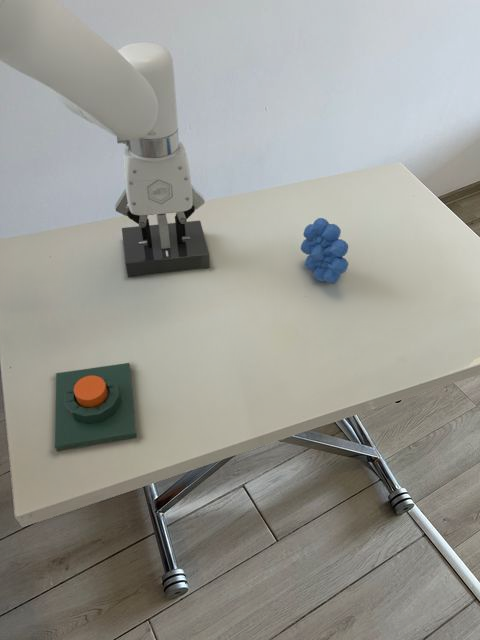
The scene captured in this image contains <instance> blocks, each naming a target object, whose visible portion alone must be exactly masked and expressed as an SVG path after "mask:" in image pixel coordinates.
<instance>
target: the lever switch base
mask: <svg viewBox="0 0 480 640" xmlns="http://www.w3.org/2000/svg"><path fill="white" fill-rule="evenodd" d="M167 223H168V229H169V239H170V248H166V249H162V248H161V242H160V237H159V230H158V224H149V226H150V233H151V240H152V246H151V247H148V242H147V240H143V237H142V231H141V227H139V225H137V226H129V227H128V226H127V227H121V236H122V244H123V245H122V247H123V254H124V263H125V270H126V276H127V277H128V278H133V277H141V276H142V277H144V276H152V275H158V274H159V275H160V274H168V273H177V272H185V271H194V270H203V269H210V268H211V264H210V263H211V261H210V252H209V248H208V244H207V241H206V237H205V236H206V235H205V233H204V230H203V229H204V228H203V225H202V221H201V220H200V219H199V220H190V221H187V222H186V223H185V233H186V236H182V242H183V243H182V244H180V243H178V239H177V234H176V224H175V222H170V223H169V222H167Z"/></svg>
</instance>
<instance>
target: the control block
mask: <svg viewBox="0 0 480 640" xmlns="http://www.w3.org/2000/svg"><path fill="white" fill-rule="evenodd" d="M131 371H132V370H131V365H130V362H126V363H124V362H123V363H118V364H110V365H103V366H98V367H89V368H83V369H77V370H69V371H63V372H56V374H55V409H54V410H55V411H54V412H55V413H54V414H55V415H54V419H55V420H54V448H55V450H56V452H59V451H65V450H71V449H78V448H84V447H89V446H94V445H101V444H106V443H112V442H118V441H124V440H128V439H129V440H130V439H131V440H132V439H136V438H137V437H138V435H137V424H136V414H135V413H136V412H135V404H134V403H135V402H134V391H133V381H132V372H131ZM86 376H98V377H100V378H102V379H103V380H104V381H105V384H106V388H107V391H108V395H107V398H106V400H105V401H104V402H103V403H102V404H100V405H99V406H96V407H91V408H88V407H84V406H81V405H80V404H79V403H78V401H77V399H76V396H75V394H74V386H75V384H76V383H77V382H78V381H79V380H80V379H82V378H83V377H86Z"/></svg>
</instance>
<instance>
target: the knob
mask: <svg viewBox="0 0 480 640" xmlns="http://www.w3.org/2000/svg"><path fill="white" fill-rule="evenodd" d="M156 221H157V225H158V230H159V237H160V242H161V248H162V249H166V248H170V239H169V229H168V223H169V222H168V218H167V213H166V214H156Z"/></svg>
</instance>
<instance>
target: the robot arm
mask: <svg viewBox="0 0 480 640" xmlns="http://www.w3.org/2000/svg"><path fill="white" fill-rule="evenodd" d="M0 61H1V62H2V63H3V64H5V65H7V66H8V67H10V68H12V69H14V70H16V71H18V72H19V73H21V74H23V75H25V76H27V77H29V78H31V79H33V80H36V81H37V82H39V83H41V84H43V85H44V86H45V87H48V88H49V89H51V90H53V91H54V92H55V93H56V95H57V97H58V99H59V101H60V102H61V103H62V104H63V106H64V107H65V108H66V109H68V110H69V111H70V112H71V113H73V114H75V115H76V116H78V117H81V118H82V119H84V120H86V121H88V122H89V123H91V124H93V125H96V126H97V127H99V128H100V129H103V130H104V131H106V132H107V133H109V134H111V135H113V136H115V137H116V142H117V144H123V145H125V146H124V150H123V151H124V152H123V176H124V186H125V187H124V190H123V191H122V193H121V195H120V196H119V198H118V200H117V201H116V203H115V204H114V207H115V212H117V213H119V214H120V215H123V216H126V217H128V219H130V220H131V221H132V222H134V223H136V224H137V225H138V226H139V227H141V231H142V237H143V240H147V242H148V247H151V246H152V240H151V233H150V226H149V225H150V221H149V220H150V219H149V218H148V216H150V215H151V216H153V215H157V214H166V215H167V214H173V213H174V214H175V215H174V223H175V224H176V234H177V239H178V243H180V244H182V243H183V242H182V236H186V233H185V223H186V222H188V219H189V218H190V217H191V216H192V215H193V214H194V212H195V211H197V210H198V209H199V208H201V207H202V206H203V205H204V204H205V197H204V195H202V194H201V193H200V192H199V190H198V189H197V188H196V187H195V186H194V185H193V184H192V180H191V172H190V171H191V170H190V164H189V160H188V155H187V151H186V149H185V147H184V144H183V143H182V142H181V141H180V135H179V133H180V132H179V123H178V107H177V94H176V80H175V79H176V78H175V67H174V60H173V56H172V54H171V52H170V51H169V49H167V48H166V47H165V46H163V45H161V44H158V43H154V42H146V41H145V42H144V41H142V42H132V43H129V44H126V45H124V46H123V47H121V48H119V49H116V48H114V47H113V45H111V44H110V43H109V42H108V41H107V40H105V39H104V38H103V37H102V36H100V35H99V34H98V33H96V32H95V31H94V30H93V29H91V28H90V27H89V26H88V25H87V24H85V23H84V22H83V21H81V19H79V18H78V17H76V16H75V14H73V13H72V12H70V11H69V10H68V9H67V8H66V7H65V6H64V5H62V4H61V3H60V2H59V0H0Z"/></svg>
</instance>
